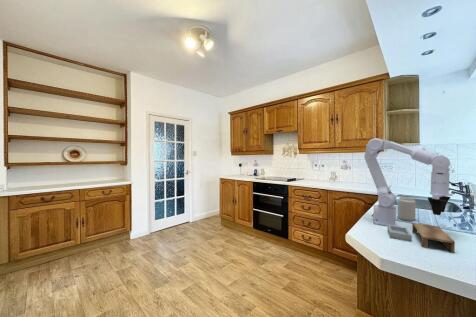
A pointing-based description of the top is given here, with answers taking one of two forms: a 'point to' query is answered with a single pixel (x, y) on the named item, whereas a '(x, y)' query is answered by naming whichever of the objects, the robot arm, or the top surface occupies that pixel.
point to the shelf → (433, 235)
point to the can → (406, 208)
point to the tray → (399, 233)
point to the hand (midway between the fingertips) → (438, 213)
